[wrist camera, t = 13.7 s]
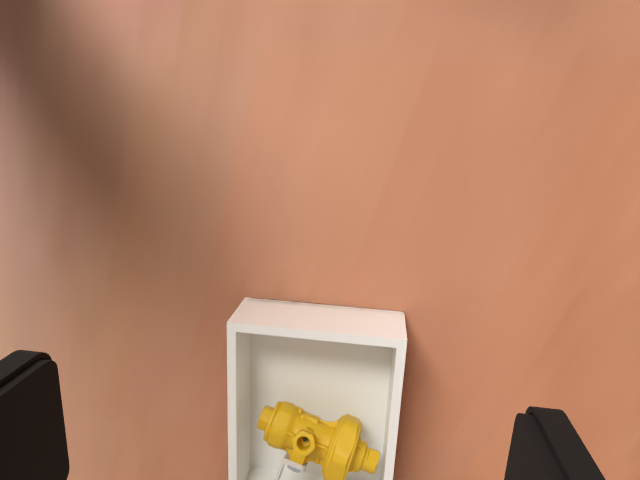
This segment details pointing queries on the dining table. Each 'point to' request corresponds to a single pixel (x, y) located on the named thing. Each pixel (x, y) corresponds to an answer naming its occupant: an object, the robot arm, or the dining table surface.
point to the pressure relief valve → (317, 441)
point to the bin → (312, 378)
